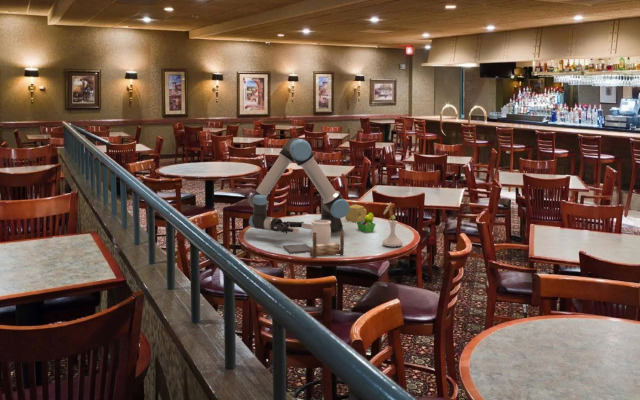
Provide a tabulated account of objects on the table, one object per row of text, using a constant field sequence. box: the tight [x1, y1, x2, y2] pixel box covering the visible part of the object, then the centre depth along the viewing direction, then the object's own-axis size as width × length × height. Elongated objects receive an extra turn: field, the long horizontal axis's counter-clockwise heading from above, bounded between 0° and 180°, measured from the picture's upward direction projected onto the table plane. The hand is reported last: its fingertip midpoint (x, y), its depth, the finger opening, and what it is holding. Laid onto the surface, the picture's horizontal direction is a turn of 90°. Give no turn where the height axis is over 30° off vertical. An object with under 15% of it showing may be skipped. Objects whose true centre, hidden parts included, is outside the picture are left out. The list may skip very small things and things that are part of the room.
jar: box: [310, 219, 332, 244], centre depth 350 cm, size 11×10×15 cm
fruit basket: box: [356, 212, 376, 233], centre depth 394 cm, size 11×9×11 cm
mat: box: [282, 243, 312, 255], centre depth 347 cm, size 13×14×1 cm
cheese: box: [344, 204, 368, 223], centre depth 424 cm, size 10×11×10 cm
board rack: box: [309, 230, 345, 259], centre depth 335 cm, size 17×7×13 cm, turn 109°
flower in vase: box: [381, 202, 403, 248], centre depth 355 cm, size 13×11×25 cm
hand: (305, 228), depth 355 cm, fingers open, 13 cm apart
